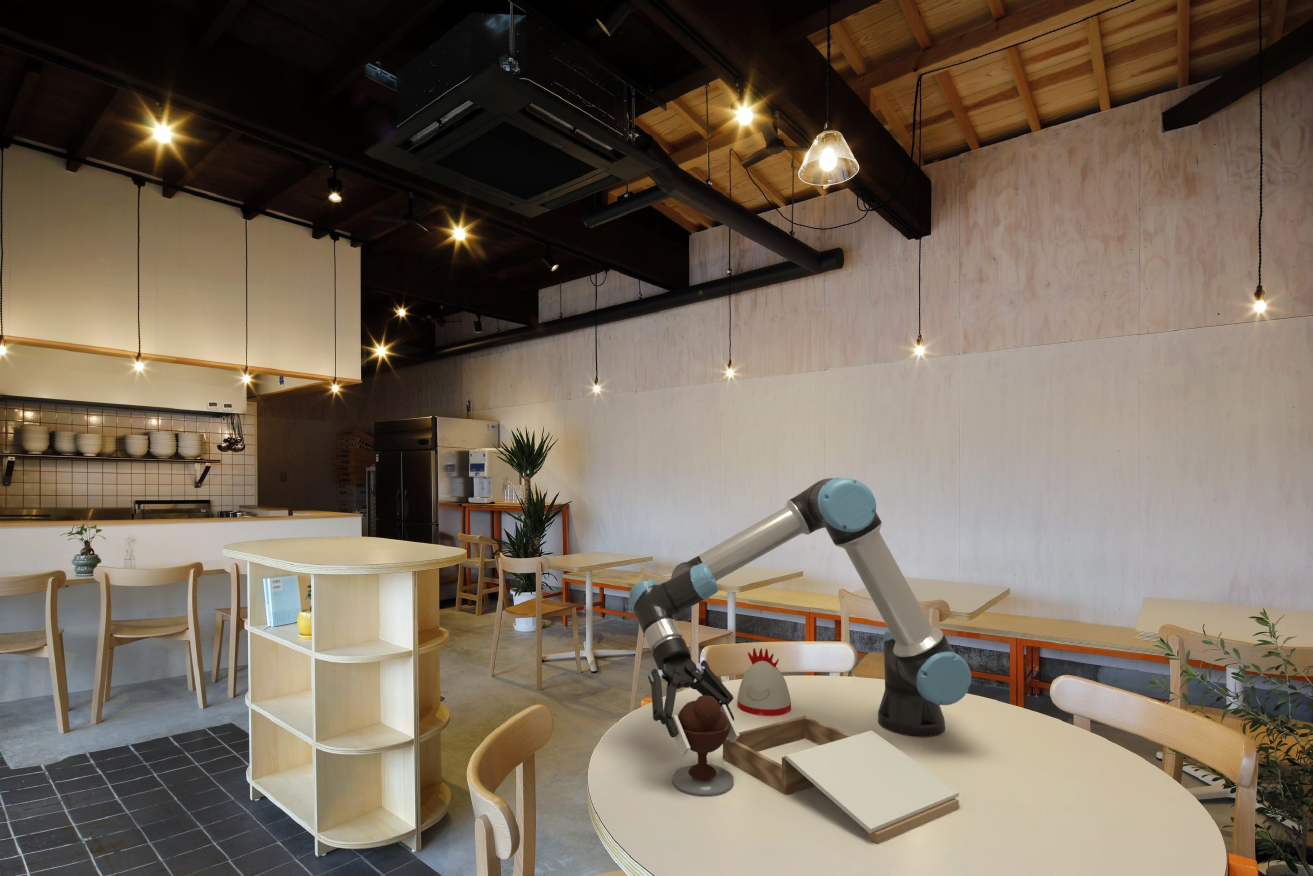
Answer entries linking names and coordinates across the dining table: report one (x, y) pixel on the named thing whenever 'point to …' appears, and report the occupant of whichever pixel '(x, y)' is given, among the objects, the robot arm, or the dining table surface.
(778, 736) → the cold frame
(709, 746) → the ice cream bowl
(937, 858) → the dining table surface
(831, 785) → the lid
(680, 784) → the coaster
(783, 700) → the kitchen timer
